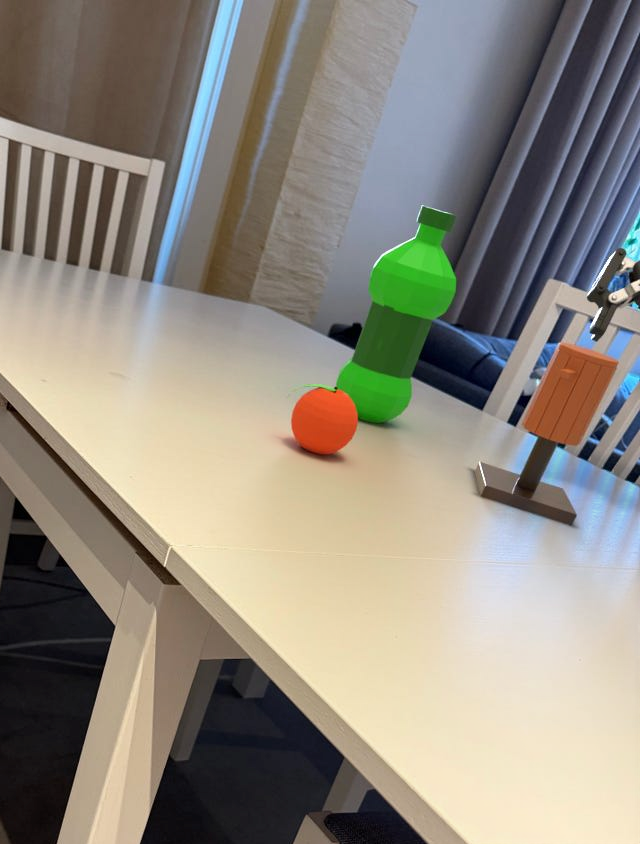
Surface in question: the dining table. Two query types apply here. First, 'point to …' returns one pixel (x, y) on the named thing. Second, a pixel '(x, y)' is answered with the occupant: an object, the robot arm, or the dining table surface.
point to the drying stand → (527, 485)
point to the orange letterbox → (569, 393)
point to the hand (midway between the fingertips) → (632, 354)
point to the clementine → (324, 419)
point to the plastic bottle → (399, 319)
